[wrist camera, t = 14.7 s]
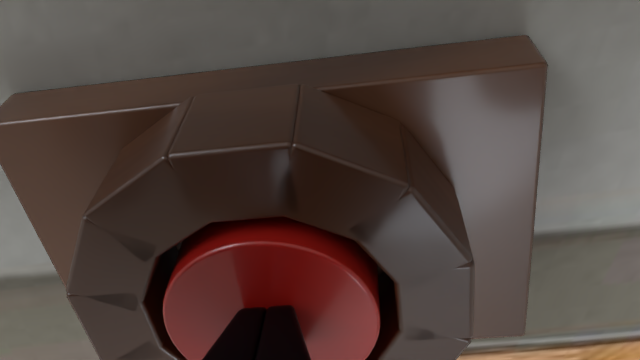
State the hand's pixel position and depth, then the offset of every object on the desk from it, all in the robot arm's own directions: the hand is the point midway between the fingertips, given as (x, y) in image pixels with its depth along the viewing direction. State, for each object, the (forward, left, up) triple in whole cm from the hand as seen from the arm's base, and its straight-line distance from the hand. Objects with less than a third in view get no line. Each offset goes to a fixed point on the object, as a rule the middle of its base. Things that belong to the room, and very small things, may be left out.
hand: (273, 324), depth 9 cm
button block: (0, 0, -3) cm, 3 cm away
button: (0, 0, -2) cm, 2 cm away
